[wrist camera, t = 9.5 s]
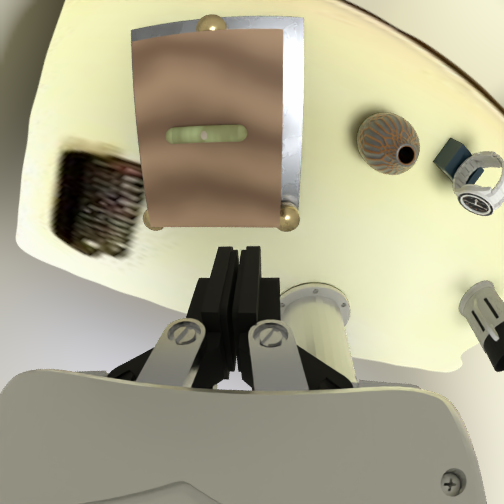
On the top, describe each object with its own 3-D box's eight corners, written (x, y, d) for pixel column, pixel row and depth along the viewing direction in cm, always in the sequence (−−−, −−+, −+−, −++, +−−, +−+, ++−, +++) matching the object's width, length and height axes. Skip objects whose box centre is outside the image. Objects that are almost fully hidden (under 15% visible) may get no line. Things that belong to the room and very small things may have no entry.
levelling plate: (279, 220, 34) (280, 235, 31) (155, 220, 34) (145, 234, 31) (282, 31, 23) (284, 25, 20) (138, 42, 24) (124, 40, 21)
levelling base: (296, 218, 40) (300, 240, 35) (153, 218, 40) (139, 238, 36) (302, 20, 26) (308, 10, 22) (136, 31, 27) (116, 26, 22)
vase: (370, 97, 31) (399, 106, 23) (412, 131, 32) (447, 148, 25) (340, 143, 34) (360, 164, 27) (383, 173, 36) (410, 200, 28)
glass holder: (470, 321, 49) (499, 378, 37) (437, 294, 46) (473, 360, 33) (499, 292, 45) (535, 345, 33) (472, 259, 42) (517, 319, 29)
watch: (424, 172, 35) (468, 207, 26) (457, 128, 31) (508, 152, 22) (447, 195, 36) (489, 234, 27) (478, 154, 33) (527, 184, 23)
